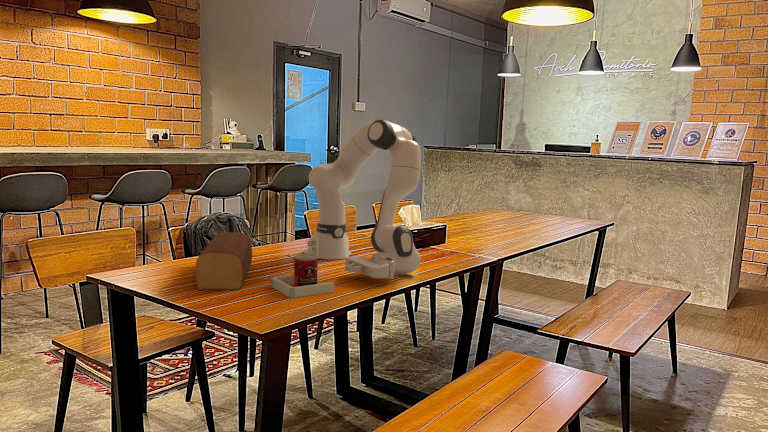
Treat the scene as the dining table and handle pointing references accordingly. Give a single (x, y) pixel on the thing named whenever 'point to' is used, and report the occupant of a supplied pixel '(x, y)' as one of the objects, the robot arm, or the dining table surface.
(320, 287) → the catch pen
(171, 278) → the dining table surface
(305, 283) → the canned food
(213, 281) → the bread
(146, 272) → the dining table surface
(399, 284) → the dining table surface
